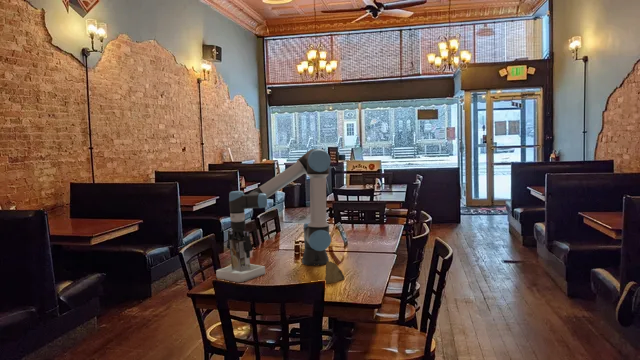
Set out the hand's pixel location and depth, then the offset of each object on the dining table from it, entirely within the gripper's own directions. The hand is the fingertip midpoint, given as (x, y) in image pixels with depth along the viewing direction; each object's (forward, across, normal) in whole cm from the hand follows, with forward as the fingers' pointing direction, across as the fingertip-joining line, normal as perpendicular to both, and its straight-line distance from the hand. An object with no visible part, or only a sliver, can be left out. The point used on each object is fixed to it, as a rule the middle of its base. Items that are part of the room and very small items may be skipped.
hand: (240, 262), depth 250 cm
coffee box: (+4, 0, 0) cm, 4 cm away
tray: (+7, 0, 0) cm, 7 cm away
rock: (+7, +49, +16) cm, 52 cm away
